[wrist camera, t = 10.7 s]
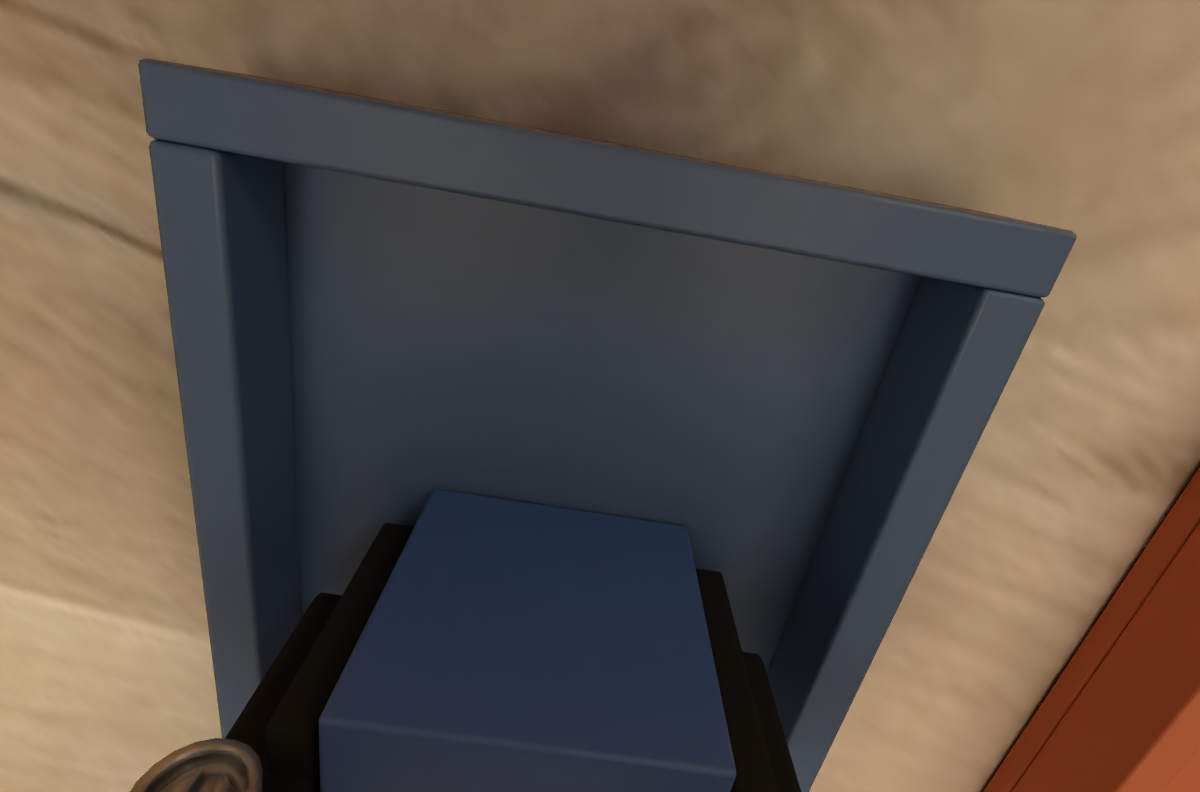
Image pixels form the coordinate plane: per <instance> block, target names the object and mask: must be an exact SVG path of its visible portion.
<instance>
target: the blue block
mask: <svg viewBox="0 0 1200 792" xmlns="http://www.w3.org/2000/svg"><path fill="white" fill-rule="evenodd" d="M319 757H320V792H730V791H731V788H732V786H733V783H734V781H735V778H736V774H737V773H736V768H735V763H734V758H733V753H732V748H731V743H730V738H729V733H728V728H727V723H726V718H725V713H724V708H723V703H722V698H721V693H720V688H719V683H718V678H717V673H716V668H715V663H714V658H713V653H712V648H711V643H710V638H709V633H708V628H707V623H706V618H705V613H704V608H703V603H702V599H701V594H700V589H699V584H698V579H697V574H696V569H695V564H694V559H693V554H692V549H691V544H690V539H689V534H688V529H687V528H686V527H684V526H678V525H671V524H665V523H658V522H651V521H645V520H638V519H632V518H625V517H618V516H612V515H605V514H599V513H592V512H585V511H579V510H572V509H566V508H559V507H552V506H546V505H539V504H533V503H526V502H519V501H513V500H506V499H500V498H493V497H487V496H480V495H473V494H467V493H460V492H454V491H447V490H440V489H434V490H433V491H432V492H431V494H430V496H429V498H428V500H427V502H426V504H425V506H424V509H423V511H422V513H421V515H420V517H419V519H418V521H417V523H416V525H415V527H414V529H413V531H412V533H411V535H410V537H409V539H408V541H407V543H406V545H405V547H404V549H403V551H402V553H401V555H400V557H399V559H398V561H397V563H396V565H395V567H394V569H393V571H392V573H391V575H390V577H389V579H388V581H387V583H386V585H385V587H384V589H383V591H382V593H381V595H380V597H379V599H378V601H377V603H376V605H375V607H374V609H373V611H372V613H371V615H370V617H369V619H368V621H367V623H366V625H365V627H364V630H363V632H362V634H361V636H360V638H359V640H358V642H357V644H356V646H355V648H354V650H353V652H352V654H351V656H350V658H349V660H348V662H347V664H346V666H345V668H344V670H343V672H342V674H341V676H340V678H339V680H338V682H337V684H336V686H335V688H334V690H333V692H332V694H331V696H330V698H329V700H328V702H327V704H326V706H325V708H324V710H323V712H322V714H321V716H320V718H319Z"/></svg>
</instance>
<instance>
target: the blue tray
mask: <svg viewBox="0 0 1200 792" xmlns="http://www.w3.org/2000/svg"><path fill="white" fill-rule="evenodd" d="M138 66H139V74H140V82H141V90H142V98H143V106H144V114H145V122H146V130H147V133H148V135H149V136H151V137H153V138H155V139H157V140H154V141H152V142H150V146H149V149H150V157H151V165H152V173H153V181H154V189H155V197H156V205H157V214H158V222H159V230H160V238H161V246H162V254H163V262H164V270H165V278H166V287H167V295H168V303H169V311H170V319H171V327H172V335H173V343H174V351H175V359H176V368H177V376H178V384H179V392H180V400H181V408H182V416H183V424H184V432H185V441H186V449H187V457H188V465H189V473H190V481H191V489H192V497H193V505H194V514H195V522H196V530H197V538H198V546H199V554H200V562H201V570H202V578H203V587H204V595H205V603H206V611H207V619H208V627H209V635H210V643H211V651H212V659H213V668H214V676H215V684H216V692H217V700H218V708H219V716H220V724H221V732H222V739H225V737H226V736H227V734H228V733H229V731H230V730H231V728H232V726H233V725H234V723H235V722H236V720H237V719H238V717H239V715H240V714H241V712H242V711H243V709H244V708H245V706H246V704H247V703H248V701H249V700H250V698H251V697H252V695H253V693H254V692H255V690H256V689H257V687H258V686H259V684H260V682H261V681H262V679H263V678H264V676H265V675H266V673H267V671H268V670H269V668H270V667H271V665H272V664H273V662H274V660H275V659H276V657H277V656H278V654H279V653H280V651H281V649H282V648H283V646H284V645H285V643H286V642H287V640H288V638H289V637H290V635H291V634H292V632H293V631H294V629H295V627H296V626H297V624H298V623H299V621H300V620H301V618H302V616H303V615H304V613H305V612H306V610H307V609H308V607H309V605H310V604H311V602H312V601H313V600H314V598H315V597H316V596H317V595H318V594H320V593H321V592H322V593H329V594H337V595H343V593H344V591H345V590H346V588H347V586H348V584H349V583H350V581H351V579H352V577H353V576H354V574H355V572H356V571H357V569H358V567H359V565H360V564H361V562H362V560H363V558H364V557H365V555H366V553H367V552H368V550H369V548H370V546H371V545H372V543H373V541H374V539H375V538H376V536H377V534H378V533H379V531H380V529H381V527H382V526H383V525H384V524H385V523H393V524H399V525H406V526H413V527H415V525H416V523H417V521H418V519H419V517H420V515H421V513H422V511H423V509H424V506H425V504H426V502H427V500H428V498H429V496H430V494H431V492H432V491H433V490H434V489H440V490H447V491H454V492H460V493H467V494H473V495H480V496H487V497H493V498H500V499H506V500H513V501H519V502H526V503H533V504H539V505H546V506H552V507H559V508H566V509H572V510H579V511H585V512H592V513H599V514H605V515H612V516H618V517H625V518H632V519H638V520H645V521H651V522H658V523H665V524H671V525H678V526H684V527H686V528H687V529H688V534H689V539H690V544H691V549H692V554H693V559H694V564H695V568H697V569H704V570H710V571H717V572H720V573H721V574H722V576H723V579H724V583H725V587H726V591H727V594H728V598H729V602H730V606H731V610H732V614H733V618H734V622H735V626H736V629H737V633H738V637H739V641H740V645H741V649H742V652H749V653H756V654H758V655H759V656H760V657H761V659H762V661H763V664H764V666H765V670H766V673H767V676H768V680H769V683H770V687H771V690H772V693H773V697H774V700H775V704H776V707H777V711H778V714H779V717H780V721H781V724H782V728H783V731H784V735H785V738H786V741H787V745H788V748H789V752H790V755H791V758H792V762H793V765H794V769H795V772H796V776H797V779H798V782H799V786H800V789H801V792H809V790H810V788H811V786H812V784H813V782H814V780H815V778H816V776H817V774H818V771H819V769H820V767H821V765H822V763H823V761H824V759H825V757H826V755H827V753H828V751H829V749H830V747H831V745H832V743H833V740H834V738H835V736H836V734H837V732H838V730H839V728H840V726H841V724H842V722H843V720H844V718H845V716H846V714H847V712H848V710H849V707H850V705H851V703H852V701H853V699H854V697H855V695H856V693H857V691H858V689H859V687H860V685H861V683H862V681H863V679H864V676H865V674H866V672H867V670H868V668H869V666H870V664H871V662H872V660H873V658H874V656H875V654H876V652H877V650H878V648H879V645H880V643H881V641H882V639H883V637H884V635H885V633H886V631H887V629H888V627H889V625H890V623H891V621H892V619H893V617H894V614H895V612H896V610H897V608H898V606H899V604H900V602H901V600H902V598H903V596H904V594H905V592H906V590H907V588H908V586H909V583H910V581H911V579H912V577H913V575H914V573H915V571H916V569H917V567H918V565H919V563H920V561H921V559H922V557H923V555H924V552H925V550H926V548H927V546H928V544H929V542H930V540H931V538H932V536H933V534H934V532H935V530H936V528H937V526H938V524H939V521H940V519H941V517H942V515H943V513H944V511H945V509H946V507H947V505H948V503H949V501H950V499H951V497H952V495H953V493H954V490H955V488H956V486H957V484H958V482H959V480H960V478H961V476H962V474H963V472H964V470H965V468H966V466H967V464H968V462H969V460H970V457H971V455H972V453H973V451H974V449H975V447H976V445H977V443H978V441H979V439H980V437H981V435H982V433H983V431H984V429H985V426H986V424H987V422H988V420H989V418H990V416H991V414H992V412H993V410H994V408H995V406H996V404H997V402H998V400H999V398H1000V395H1001V393H1002V391H1003V389H1004V387H1005V385H1006V383H1007V381H1008V379H1009V377H1010V375H1011V373H1012V371H1013V369H1014V367H1015V364H1016V362H1017V360H1018V358H1019V356H1020V354H1021V352H1022V350H1023V348H1024V346H1025V344H1026V342H1027V340H1028V338H1029V336H1030V333H1031V331H1032V329H1033V327H1034V325H1035V323H1036V321H1037V319H1038V317H1039V315H1040V313H1041V311H1042V309H1043V307H1044V300H1042V299H1041V297H1047V296H1048V295H1049V294H1050V292H1051V290H1052V288H1053V286H1054V283H1055V281H1056V279H1057V277H1058V275H1059V273H1060V271H1061V269H1062V267H1063V265H1064V263H1065V261H1066V259H1067V257H1068V255H1069V252H1070V250H1071V248H1072V246H1073V244H1074V242H1075V240H1076V234H1075V233H1073V232H1072V231H1069V230H1064V229H1060V228H1055V227H1050V226H1046V225H1041V224H1036V223H1032V222H1027V221H1022V220H1018V219H1013V218H1008V217H1004V216H998V215H994V214H990V213H985V212H980V211H975V210H969V209H964V208H959V207H953V206H948V205H943V204H937V203H932V202H927V201H921V200H916V199H910V198H905V197H900V196H894V195H889V194H884V193H878V192H873V191H868V190H862V189H857V188H852V187H846V186H841V185H835V184H830V183H825V182H819V181H814V180H809V179H803V178H798V177H793V176H787V175H782V174H777V173H771V172H766V171H760V170H755V169H750V168H744V167H739V166H734V165H728V164H723V163H718V162H712V161H707V160H702V159H696V158H691V157H686V156H680V155H675V154H669V153H664V152H659V151H653V150H648V149H643V148H637V147H632V146H627V145H621V144H616V143H611V142H605V141H600V140H594V139H589V138H584V137H578V136H573V135H568V134H562V133H557V132H552V131H546V130H541V129H536V128H530V127H525V126H519V125H514V124H509V123H503V122H498V121H493V120H487V119H482V118H477V117H471V116H466V115H461V114H455V113H450V112H444V111H439V110H434V109H428V108H423V107H418V106H412V105H407V104H402V103H396V102H391V101H386V100H380V99H375V98H370V97H364V96H359V95H353V94H348V93H343V92H337V91H332V90H327V89H321V88H316V87H311V86H305V85H300V84H295V83H289V82H284V81H278V80H273V79H268V78H262V77H257V76H252V75H246V74H241V73H234V72H228V71H222V70H215V69H209V68H203V67H197V66H190V65H184V64H178V63H171V62H165V61H159V60H153V59H142V60H140V61H139V64H138Z"/></svg>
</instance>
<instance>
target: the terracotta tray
mask: <svg viewBox="0 0 1200 792" xmlns="http://www.w3.org/2000/svg"><path fill="white" fill-rule="evenodd" d="M983 792H1200V467H1199V468H1198V470H1197V471H1196V473H1195V474H1194V476H1193V477H1192V479H1191V480H1190V482H1189V483H1188V485H1187V486H1186V488H1185V489H1184V491H1183V492H1182V494H1181V495H1180V497H1179V498H1178V500H1177V501H1176V503H1175V504H1174V506H1173V507H1172V509H1171V510H1170V512H1169V513H1168V515H1167V516H1166V518H1165V519H1164V521H1163V522H1162V524H1161V525H1160V527H1159V528H1158V530H1157V531H1156V533H1155V534H1154V536H1153V537H1152V539H1151V540H1150V542H1149V543H1148V545H1147V546H1146V548H1145V549H1144V551H1143V552H1142V554H1141V555H1140V557H1139V558H1138V560H1137V561H1136V563H1135V564H1134V566H1133V567H1132V569H1131V570H1130V572H1129V573H1128V575H1127V576H1126V578H1125V579H1124V581H1123V582H1122V584H1121V585H1120V587H1119V588H1118V590H1117V591H1116V593H1115V594H1114V596H1113V597H1112V599H1111V600H1110V602H1109V603H1108V605H1107V606H1106V608H1105V609H1104V611H1103V612H1102V614H1101V615H1100V617H1099V618H1098V620H1097V621H1096V623H1095V624H1094V626H1093V627H1092V629H1091V630H1090V632H1089V633H1088V635H1087V636H1086V638H1085V639H1084V641H1083V642H1082V644H1081V645H1080V647H1079V648H1078V650H1077V651H1076V653H1075V654H1074V656H1073V657H1072V659H1071V660H1070V662H1069V663H1068V665H1067V666H1066V668H1065V669H1064V671H1063V672H1062V674H1061V675H1060V677H1059V678H1058V680H1057V681H1056V683H1055V684H1054V686H1053V687H1052V689H1051V690H1050V692H1049V693H1048V695H1047V696H1046V698H1045V699H1044V701H1043V702H1042V704H1041V705H1040V707H1039V708H1038V710H1037V711H1036V713H1035V714H1034V716H1033V717H1032V719H1031V720H1030V722H1029V723H1028V725H1027V726H1026V728H1025V729H1024V731H1023V732H1022V734H1021V735H1020V737H1019V738H1018V740H1017V741H1016V743H1015V744H1014V746H1013V747H1012V749H1011V750H1010V752H1009V753H1008V755H1007V756H1006V758H1005V759H1004V761H1003V762H1002V764H1001V765H1000V767H999V768H998V770H997V771H996V773H995V774H994V776H993V777H992V779H991V780H990V782H989V783H988V785H987V786H986V788H985V789H984V791H983Z"/></svg>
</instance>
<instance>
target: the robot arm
mask: <svg viewBox="0 0 1200 792" xmlns="http://www.w3.org/2000/svg"><path fill="white" fill-rule="evenodd" d="M413 529H414V527H413V526H406V525H399V524H393V523H385V524H384V525H383V526H382V527H381V529H380V531H379V533H378V534H377V536H376V538H375V539H374V541H373V543H372V545H371V546H370V548H369V550H368V552H367V553H366V555H365V557H364V558H363V560H362V562H361V564H360V565H359V567H358V569H357V571H356V572H355V574H354V576H353V577H352V579H351V581H350V583H349V584H348V586H347V588H346V590H345V591H344V593H343V595H337V594H329V593H322V592H321V593H320V594H318V595H317V596H316V597H315V598H314V600H313V601H312V602H311V604H310V605H309V607H308V609H307V610H306V612H305V613H304V615H303V616H302V618H301V620H300V621H299V623H298V624H297V626H296V627H295V629H294V631H293V632H292V634H291V635H290V637H289V638H288V640H287V642H286V643H285V645H284V646H283V648H282V649H281V651H280V653H279V654H278V656H277V657H276V659H275V660H274V662H273V664H272V665H271V667H270V668H269V670H268V671H267V673H266V675H265V676H264V678H263V679H262V681H261V682H260V684H259V686H258V687H257V689H256V690H255V692H254V693H253V695H252V697H251V698H250V700H249V701H248V703H247V704H246V706H245V708H244V709H243V711H242V712H241V714H240V715H239V717H238V719H237V720H236V722H235V723H234V725H233V726H232V728H231V730H230V731H229V733H228V734H227V736H226V737H225V739H219V738H215V739H210V740H205V741H200V742H195V743H193V744H190V745H188V746H185V747H183V748H181V749H178V750H176V751H174V752H172V753H171V754H169V755H168V756H166V757H165V758H163V759H162V760H160V761H159V762H157V763H156V764H154V765H153V766H152V767H151V768H150V769H149V770H148V771H147V772H146V773H145V774H144V775H143V776H142V777H141V778H140V779H139V780H138V781H137V782H136V783H135V785H134V787H133V788H132V790H131V791H130V792H320V757H319V718H320V716H321V714H322V712H323V710H324V708H325V706H326V704H327V702H328V700H329V698H330V696H331V694H332V692H333V690H334V688H335V686H336V684H337V682H338V680H339V678H340V676H341V674H342V672H343V670H344V668H345V666H346V664H347V662H348V660H349V658H350V656H351V654H352V652H353V650H354V648H355V646H356V644H357V642H358V640H359V638H360V636H361V634H362V632H363V630H364V627H365V625H366V623H367V621H368V619H369V617H370V615H371V613H372V611H373V609H374V607H375V605H376V603H377V601H378V599H379V597H380V595H381V593H382V591H383V589H384V587H385V585H386V583H387V581H388V579H389V577H390V575H391V573H392V571H393V569H394V567H395V565H396V563H397V561H398V559H399V557H400V555H401V553H402V551H403V549H404V547H405V545H406V543H407V541H408V539H409V537H410V535H411V533H412V531H413ZM695 569H696V574H697V579H698V584H699V589H700V594H701V599H702V603H703V608H704V613H705V618H706V623H707V628H708V633H709V638H710V643H711V648H712V653H713V658H714V663H715V668H716V673H717V678H718V683H719V688H720V693H721V698H722V703H723V708H724V713H725V718H726V723H727V728H728V733H729V738H730V743H731V748H732V753H733V758H734V763H735V768H736V773H737V774H736V778H735V781H734V783H733V786H732V788H731V791H730V792H801V789H800V786H799V782H798V779H797V776H796V772H795V769H794V765H793V762H792V758H791V755H790V752H789V748H788V745H787V741H786V738H785V735H784V731H783V728H782V724H781V721H780V717H779V714H778V711H777V707H776V704H775V700H774V697H773V693H772V690H771V687H770V683H769V680H768V676H767V673H766V670H765V666H764V664H763V661H762V659H761V657H760V656H759V655H758V654H756V653H749V652H742V649H741V645H740V641H739V637H738V633H737V629H736V626H735V622H734V618H733V614H732V610H731V606H730V602H729V598H728V594H727V591H726V587H725V583H724V579H723V576H722V574H721V573H720V572H717V571H710V570H704V569H697V568H695Z"/></svg>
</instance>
